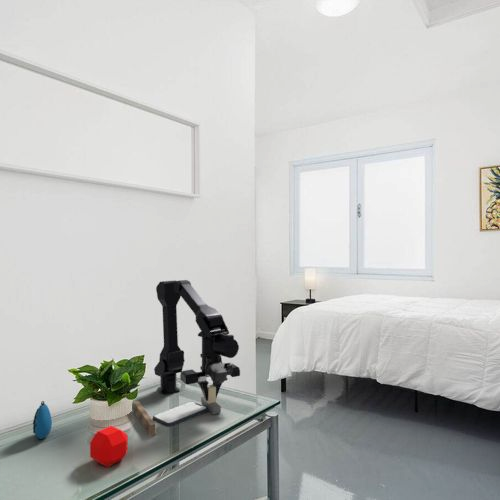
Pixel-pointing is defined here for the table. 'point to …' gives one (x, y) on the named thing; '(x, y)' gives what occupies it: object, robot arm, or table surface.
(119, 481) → the table surface
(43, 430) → the ornament
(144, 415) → the walnut bar
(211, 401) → the scraper
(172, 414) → the smartphone
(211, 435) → the table surface
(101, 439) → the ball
